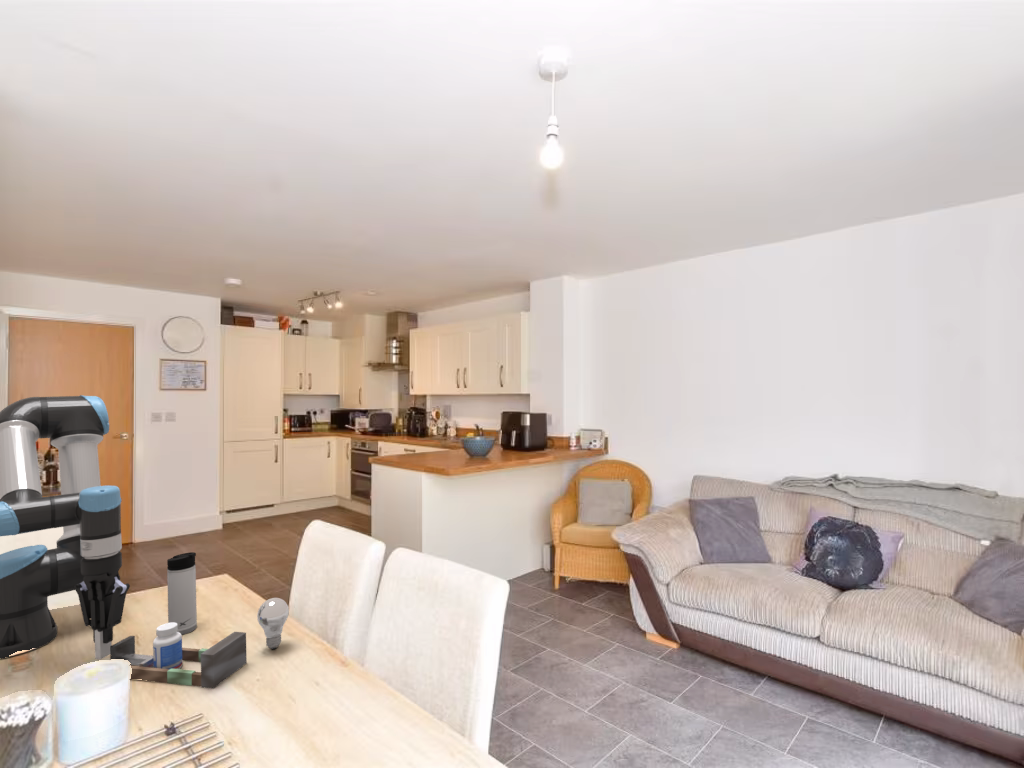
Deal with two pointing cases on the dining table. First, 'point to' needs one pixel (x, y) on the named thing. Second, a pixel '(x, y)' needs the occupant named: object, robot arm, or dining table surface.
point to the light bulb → (273, 620)
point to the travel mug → (182, 592)
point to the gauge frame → (202, 664)
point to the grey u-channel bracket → (130, 653)
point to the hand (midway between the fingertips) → (103, 656)
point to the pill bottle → (168, 647)
